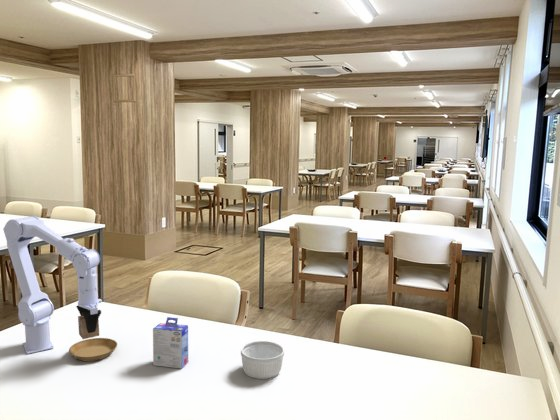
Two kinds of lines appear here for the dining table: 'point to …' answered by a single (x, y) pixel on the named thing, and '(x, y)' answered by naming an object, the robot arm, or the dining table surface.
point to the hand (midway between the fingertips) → (89, 329)
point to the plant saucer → (93, 349)
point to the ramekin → (262, 359)
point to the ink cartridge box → (170, 344)
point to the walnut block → (83, 329)
